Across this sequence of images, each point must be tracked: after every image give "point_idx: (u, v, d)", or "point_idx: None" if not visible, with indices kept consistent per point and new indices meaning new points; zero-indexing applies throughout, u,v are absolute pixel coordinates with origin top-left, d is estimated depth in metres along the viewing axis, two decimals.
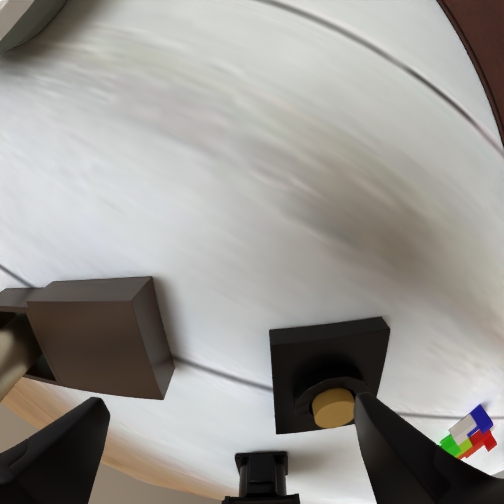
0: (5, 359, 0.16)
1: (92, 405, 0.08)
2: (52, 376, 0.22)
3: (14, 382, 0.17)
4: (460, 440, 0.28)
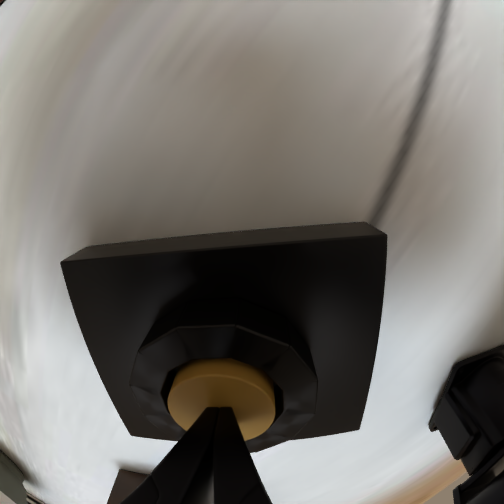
0: None
1: (215, 416, 0.08)
2: None
3: None
4: None
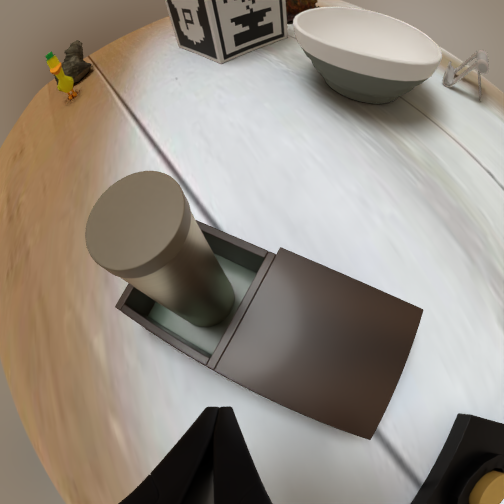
0: (211, 263, 0.16)
1: (215, 417, 0.08)
2: (199, 351, 0.18)
3: (184, 297, 0.15)
4: None
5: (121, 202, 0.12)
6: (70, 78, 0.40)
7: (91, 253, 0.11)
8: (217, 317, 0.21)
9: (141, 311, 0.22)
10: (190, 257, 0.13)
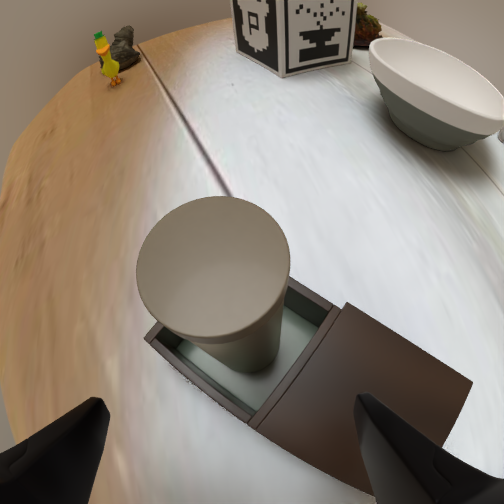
0: (281, 319, 0.13)
1: (92, 405, 0.08)
2: (239, 405, 0.15)
3: (245, 356, 0.12)
4: None
5: (194, 234, 0.09)
6: (116, 63, 0.41)
7: (145, 300, 0.08)
8: (260, 366, 0.18)
9: (170, 344, 0.19)
10: (273, 320, 0.10)
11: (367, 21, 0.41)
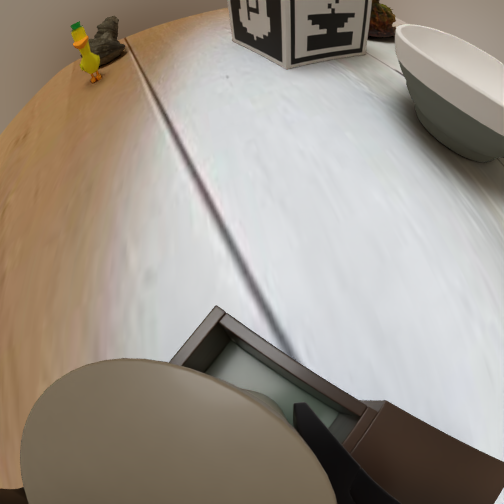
0: None
1: None
2: None
3: None
4: None
5: (105, 463, 0.03)
6: (96, 57, 0.34)
7: None
8: None
9: None
10: None
11: (380, 10, 0.34)
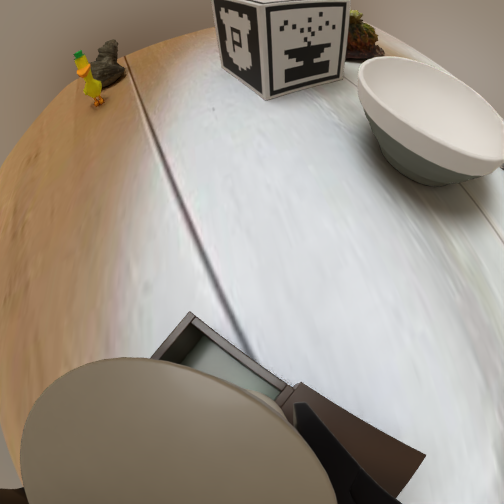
0: None
1: None
2: None
3: None
4: None
5: (105, 462, 0.03)
6: (98, 83, 0.40)
7: None
8: None
9: None
10: None
11: (362, 31, 0.40)
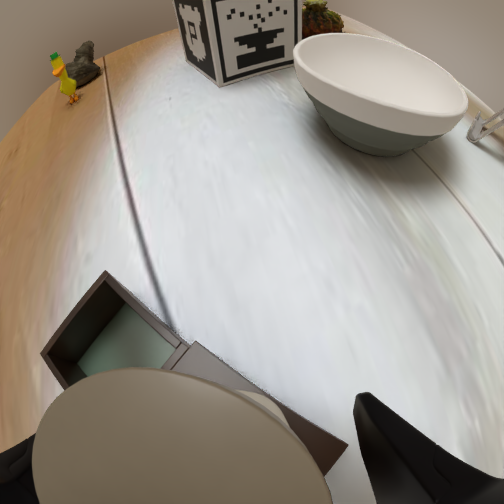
0: None
1: None
2: None
3: None
4: None
5: (116, 465, 0.03)
6: (73, 81, 0.40)
7: None
8: None
9: (68, 359, 0.19)
10: None
11: (326, 18, 0.40)
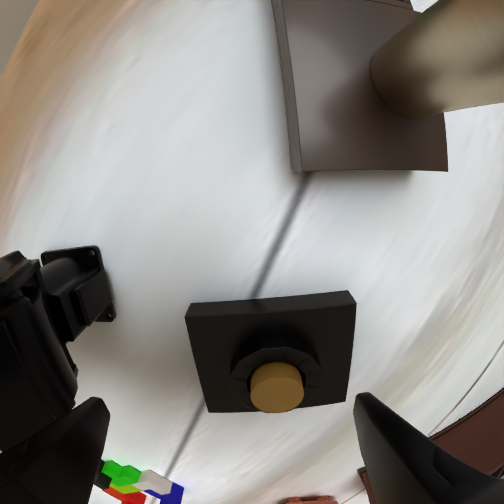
0: None
1: (92, 405, 0.08)
2: None
3: (484, 78, 0.06)
4: (140, 485, 0.28)
5: None
6: None
7: None
8: (409, 108, 0.12)
9: None
10: None
11: None
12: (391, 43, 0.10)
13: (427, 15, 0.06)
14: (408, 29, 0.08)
